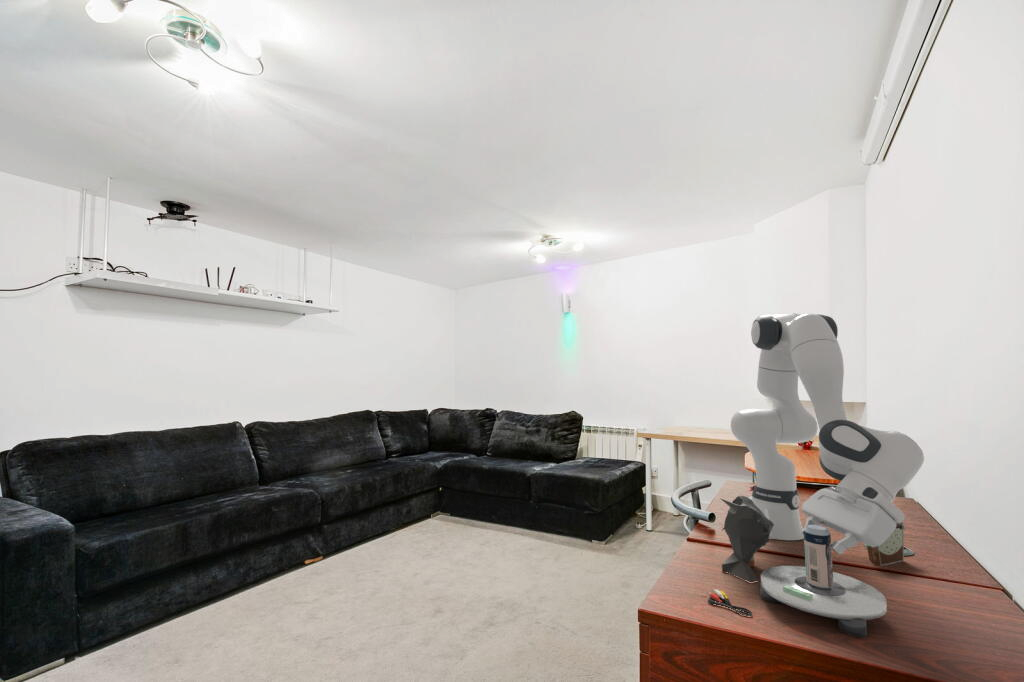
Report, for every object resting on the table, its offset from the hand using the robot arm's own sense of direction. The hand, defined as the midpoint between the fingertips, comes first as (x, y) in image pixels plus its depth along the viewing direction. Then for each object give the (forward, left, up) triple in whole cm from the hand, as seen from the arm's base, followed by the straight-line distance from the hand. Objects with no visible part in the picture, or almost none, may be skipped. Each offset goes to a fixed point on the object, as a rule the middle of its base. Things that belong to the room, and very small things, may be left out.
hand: (819, 543), depth 99 cm
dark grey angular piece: (-21, +7, -14) cm, 26 cm away
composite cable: (-11, -17, -14) cm, 24 cm away
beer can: (0, 0, -9) cm, 9 cm away
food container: (-6, +43, -14) cm, 45 cm away
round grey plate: (0, 0, -13) cm, 13 cm away
